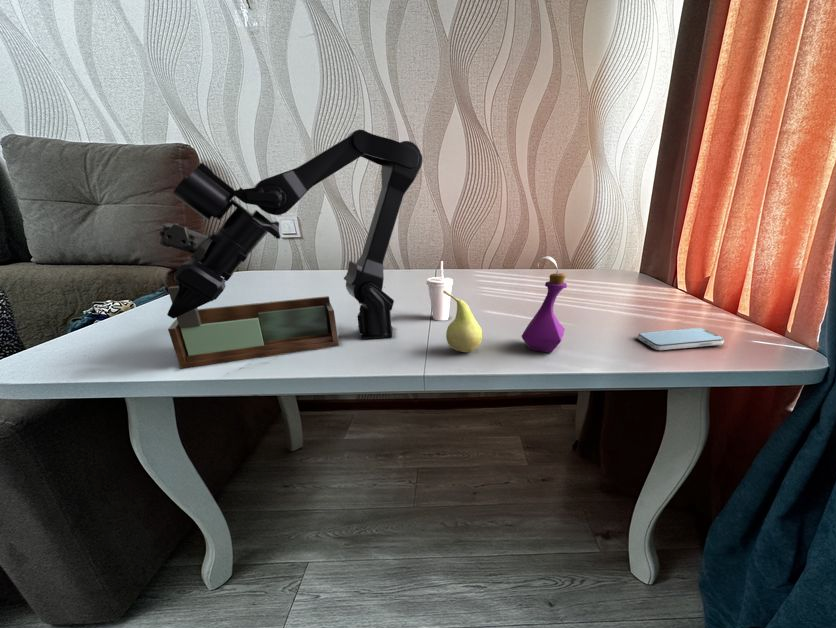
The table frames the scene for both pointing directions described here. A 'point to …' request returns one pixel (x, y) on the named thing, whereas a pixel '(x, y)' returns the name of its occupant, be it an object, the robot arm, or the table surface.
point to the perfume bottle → (546, 318)
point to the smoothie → (440, 295)
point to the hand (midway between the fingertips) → (176, 309)
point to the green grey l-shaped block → (216, 332)
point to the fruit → (463, 329)
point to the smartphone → (680, 339)
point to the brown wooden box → (267, 330)
